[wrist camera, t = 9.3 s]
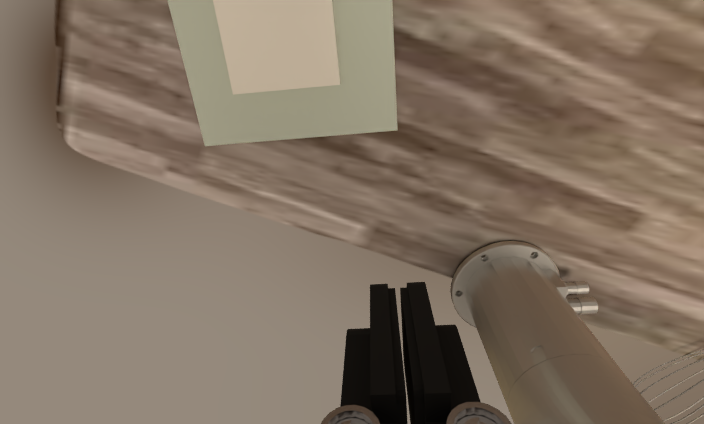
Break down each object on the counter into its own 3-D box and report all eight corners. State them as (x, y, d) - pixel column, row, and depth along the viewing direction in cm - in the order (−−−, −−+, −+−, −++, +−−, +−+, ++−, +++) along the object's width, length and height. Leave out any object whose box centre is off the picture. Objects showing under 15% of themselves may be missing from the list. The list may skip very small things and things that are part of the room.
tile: (327, -47, 29) (205, -33, 30) (340, 84, 33) (232, 94, 34) (329, -42, 31) (215, -28, 32) (341, 82, 35) (240, 92, 36)
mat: (386, -122, 29) (387, -125, 29) (396, 129, 38) (397, 130, 37) (147, -91, 31) (143, -93, 30) (207, 144, 39) (204, 146, 38)
